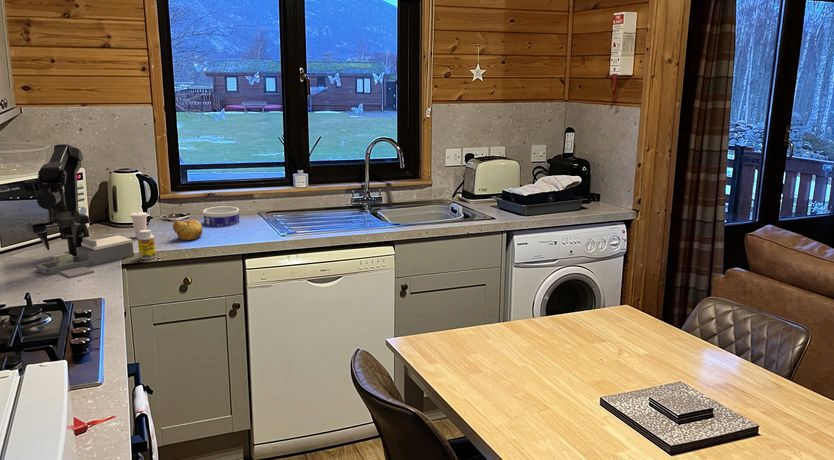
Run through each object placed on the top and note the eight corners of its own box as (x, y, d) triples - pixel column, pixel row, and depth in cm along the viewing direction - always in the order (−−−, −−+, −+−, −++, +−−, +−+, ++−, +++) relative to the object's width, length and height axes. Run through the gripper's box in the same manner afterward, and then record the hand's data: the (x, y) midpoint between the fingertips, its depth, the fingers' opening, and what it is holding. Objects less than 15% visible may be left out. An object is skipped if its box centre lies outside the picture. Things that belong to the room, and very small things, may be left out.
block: (55, 268, 238) (53, 255, 237) (68, 265, 241) (66, 253, 240) (61, 270, 235) (59, 258, 234) (74, 267, 239) (72, 255, 237)
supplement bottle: (141, 260, 246) (138, 233, 244) (138, 257, 251) (135, 230, 248) (157, 258, 249) (155, 231, 247) (154, 254, 254) (151, 228, 251)
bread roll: (188, 233, 285) (187, 214, 284) (210, 234, 283) (208, 215, 281) (171, 241, 273) (170, 221, 271) (193, 242, 271) (192, 222, 269)
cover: (81, 245, 247) (80, 237, 246) (119, 237, 257) (118, 230, 256) (94, 250, 240) (93, 242, 240) (132, 242, 251) (131, 234, 250)
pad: (59, 273, 232) (59, 271, 232) (83, 267, 238) (83, 266, 238) (70, 278, 227) (69, 276, 227) (94, 272, 233) (93, 270, 233)
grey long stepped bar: (36, 270, 235) (34, 256, 234) (122, 251, 258) (120, 238, 257) (47, 275, 230) (45, 261, 229) (133, 255, 252) (132, 242, 251)
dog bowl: (247, 221, 306) (246, 208, 305) (220, 228, 294) (219, 214, 292) (223, 217, 314) (222, 204, 313) (196, 224, 301) (195, 211, 300)
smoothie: (152, 235, 281) (149, 202, 278) (140, 239, 275) (137, 205, 272) (141, 234, 284) (137, 201, 280) (129, 237, 278) (125, 204, 275)
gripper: (36, 211, 221) (43, 257, 225) (94, 201, 235) (99, 245, 238) (23, 206, 228) (29, 251, 232) (79, 197, 242) (85, 240, 245)
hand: (62, 247), depth 237 cm, fingers open, 9 cm apart
